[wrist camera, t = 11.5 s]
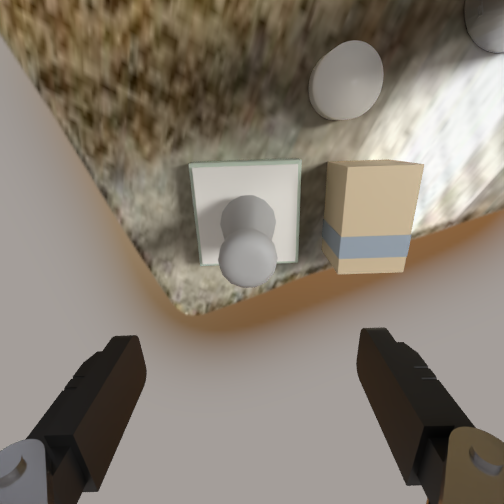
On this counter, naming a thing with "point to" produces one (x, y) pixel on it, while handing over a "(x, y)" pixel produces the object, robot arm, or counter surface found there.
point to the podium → (240, 184)
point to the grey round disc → (346, 81)
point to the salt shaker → (248, 242)
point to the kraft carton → (369, 214)
